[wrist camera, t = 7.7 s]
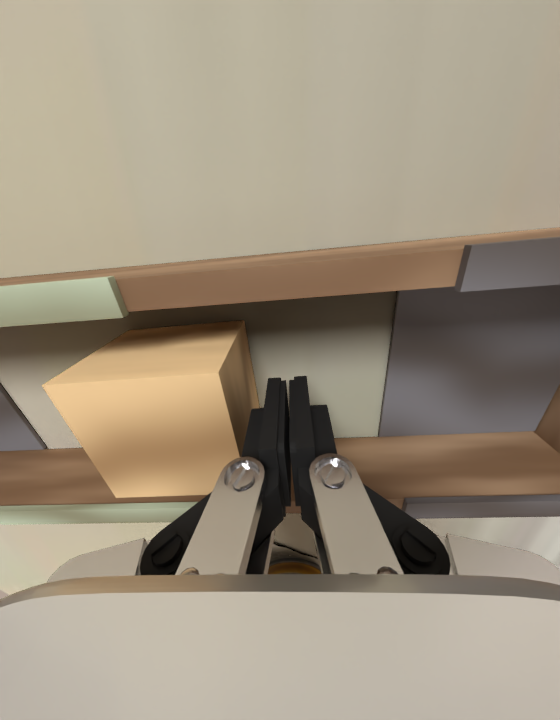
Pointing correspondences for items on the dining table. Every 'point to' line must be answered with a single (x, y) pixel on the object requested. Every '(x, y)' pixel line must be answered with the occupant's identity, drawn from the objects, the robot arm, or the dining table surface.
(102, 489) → the box
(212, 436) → the block
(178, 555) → the robot arm
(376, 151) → the dining table surface
